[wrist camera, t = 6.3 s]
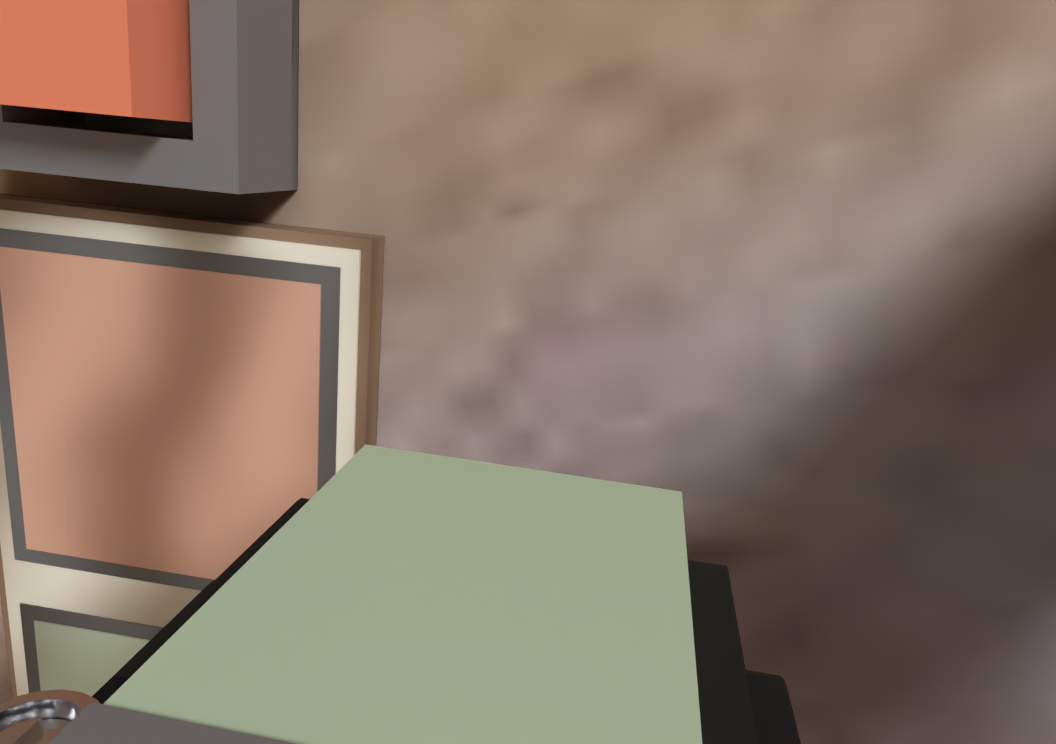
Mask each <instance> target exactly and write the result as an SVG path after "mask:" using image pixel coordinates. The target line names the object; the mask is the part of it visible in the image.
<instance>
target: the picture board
mask: <svg viewBox="0 0 1056 744" xmlns="http://www.w3.org/2000/svg"><path fill="white" fill-rule="evenodd" d="M384 237H385V236H377V235H368V234H359V233H350V232H341V231H332V230H323V229H314V228H305V227H296V226H287V225H278V224H269V223H259V222H250V221H241V220H232V219H223V218H214V217H205V216H196V215H187V214H178V213H169V212H160V211H151V210H142V209H133V208H124V207H115V206H106V205H97V204H88V203H79V202H70V201H61V200H52V199H42V198H33V197H24V196H15V195H6V194H0V596H1V605H2V614H3V622H4V631H5V640H6V649H7V658H8V667H9V675H10V684H11V693H12V698H13V697H16V696H20V695H24V694H28V693H33V692H37V691H46V690H60V689H63V690H70V691H77V692H83V693H85V694H87V695H89V696H91V697H92V696H93V695H94V694H95V693H96V692H97V691H98V690H99V689H100V688H101V687H102V686H103V685H104V684H105V683H106V682H107V681H108V680H109V679H110V678H111V677H113V676H114V675H115V674H116V673H117V672H118V671H119V670H120V669H121V668H122V667H123V666H124V665H125V664H126V663H127V662H128V661H129V660H130V659H131V658H132V657H133V656H134V655H135V654H136V653H138V652H139V651H140V650H141V649H142V648H143V647H144V646H145V645H146V644H147V643H148V642H149V641H150V640H151V639H152V638H153V637H154V636H155V635H156V634H157V633H158V632H159V631H160V630H161V629H162V628H164V627H165V626H166V625H167V624H168V623H169V622H170V621H171V620H172V619H173V618H174V617H175V616H176V615H177V614H178V613H179V612H180V611H181V610H182V609H183V608H184V607H185V606H186V605H187V604H188V603H190V602H191V601H192V600H193V599H194V598H195V597H196V596H197V595H198V594H199V593H200V592H201V591H202V590H203V589H204V588H205V587H206V586H207V585H208V584H210V583H211V582H212V581H214V580H215V579H216V578H217V577H219V576H220V575H221V574H222V573H223V572H224V571H225V570H226V569H227V568H228V567H229V566H230V565H231V564H232V563H233V562H234V561H235V560H236V559H237V558H238V557H239V556H240V555H241V554H242V553H243V552H244V551H245V550H246V549H248V548H249V547H250V546H251V545H252V544H253V543H254V542H255V541H256V540H257V539H258V538H259V537H260V536H261V535H262V534H263V533H264V532H265V531H266V530H267V529H268V528H269V527H270V526H271V525H272V524H273V523H274V522H275V521H277V520H278V519H279V518H280V517H281V516H282V515H283V514H284V513H285V512H286V511H287V510H288V509H289V508H290V507H291V506H292V505H293V504H294V503H295V502H296V501H297V500H299V499H300V498H306V499H311V498H312V497H313V496H314V495H315V494H316V493H317V492H318V491H319V490H320V489H321V488H322V487H323V486H324V485H325V484H326V483H327V482H328V481H329V480H330V479H331V478H332V477H333V476H334V475H335V474H336V473H337V472H338V471H339V470H340V469H341V468H342V467H343V466H344V465H345V464H346V463H347V462H348V461H349V460H350V459H351V458H352V457H353V456H354V455H355V454H356V453H357V452H358V451H359V450H360V449H361V448H362V447H363V446H364V445H365V444H366V445H373V446H376V437H377V412H378V387H379V362H380V337H381V312H382V287H383V262H384Z"/></svg>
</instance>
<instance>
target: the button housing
mask: <svg viewBox="0 0 1056 744" xmlns="http://www.w3.org/2000/svg"><path fill="white" fill-rule="evenodd" d="M189 12H190V48H191V83H192V119H193V122H182V121H171V120H160V119H148V118H137V117H127V116H116V115H106V114H96V113H85V112H75V111H65V110H54V109H44V108H34V107H23V106H13V105H3V104H0V169H6V170H15V171H25V172H34V173H43V174H53V175H62V176H72V177H81V178H90V179H100V180H109V181H118V182H128V183H137V184H146V185H156V186H165V187H175V188H184V189H193V190H203V191H212V192H221V193H231V194H250V193H262V192H275V191H287V190H297V186H298V66H299V0H189Z"/></svg>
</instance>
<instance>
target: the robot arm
mask: <svg viewBox="0 0 1056 744" xmlns="http://www.w3.org/2000/svg"><path fill="white" fill-rule="evenodd" d="M309 500H310V499H306V498H300V499H299V500H297V501H296V502H295V503H294V504H293V505H292V506H291V507H290V508H289V509H288V510H287V511H286V512H285V513H284V514H283V515H282V516H281V517H280V518H279V519H278V520H277V521H275V522H274V523H273V524H272V525H271V526H270V527H269V528H268V529H267V530H266V531H265V532H264V533H263V534H262V535H261V536H260V537H259V538H258V539H257V540H256V541H255V542H254V543H253V544H252V545H251V546H250V547H249V548H248V549H246V550H245V551H244V552H243V553H242V554H241V555H240V556H239V557H238V558H237V559H236V560H235V561H234V562H233V563H232V564H231V565H230V566H229V567H228V568H227V569H226V570H225V571H224V572H223V573H222V574H221V575H220V576H219V577H217V578H216V579H215V580H214V581H212V582H211V583H210V584H208V585H207V586H206V587H205V588H204V589H203V590H202V591H201V592H200V593H199V594H198V595H197V596H196V597H195V598H194V599H193V600H192V601H191V602H190V603H188V604H187V605H186V606H185V607H184V608H183V609H182V610H181V611H180V612H179V613H178V614H177V615H176V616H175V617H174V618H173V619H172V620H171V621H170V622H169V623H168V624H167V625H166V626H165V627H164V628H162V629H161V630H160V631H159V632H158V633H157V634H156V635H155V636H154V637H153V638H152V639H151V640H150V641H149V642H148V643H147V644H146V645H145V646H144V647H143V648H142V649H141V650H140V651H139V652H138V653H136V654H135V655H134V656H133V657H132V658H131V659H130V660H129V661H128V662H127V663H126V664H125V665H124V666H123V667H122V668H121V669H120V670H119V671H118V672H117V673H116V674H115V675H114V676H113V677H111V678H110V679H109V680H108V681H107V682H106V683H105V684H104V685H103V686H102V687H101V688H100V689H99V690H98V691H97V692H96V693H95V694H94V695H93V696H92V697H91V696H89V695H87V694H85V693H83V692H77V691H70V690H63V689H60V690H46V691H37V692H33V693H28V694H24V695H20V696H16V697H13V698H10V699H8V700H5V701H3V702H0V744H48V743H50V742H51V741H52V740H53V739H54V738H55V737H56V736H57V735H58V734H59V733H60V732H61V731H62V730H63V729H64V728H65V727H66V726H67V725H68V724H69V723H70V722H71V721H72V720H73V719H74V718H75V717H76V716H77V715H79V714H80V713H81V712H82V711H83V710H84V709H85V708H86V707H87V706H88V705H89V704H90V703H91V702H94V703H98V704H104V703H105V702H106V701H107V700H108V699H109V698H110V697H111V696H112V695H113V694H114V693H115V692H116V691H117V690H118V689H119V688H120V687H121V686H122V685H123V684H124V683H125V682H126V681H127V680H128V679H129V678H130V677H131V676H132V675H133V674H134V673H135V672H136V671H137V670H138V669H139V668H140V667H141V666H142V665H143V664H144V663H145V662H146V661H147V660H148V659H149V658H150V657H151V656H152V655H153V654H154V653H155V652H156V651H157V650H158V649H159V648H160V647H161V646H162V645H163V644H164V643H165V642H166V641H167V640H168V639H169V638H170V637H171V636H172V635H173V634H174V633H175V632H176V631H177V630H178V629H179V628H181V627H182V626H183V625H184V624H185V623H186V622H187V621H188V620H189V619H190V618H191V617H192V616H193V615H194V614H195V613H196V612H197V611H198V610H199V609H200V608H201V607H202V606H203V605H204V604H205V603H206V602H207V601H208V600H209V599H210V598H211V597H212V596H213V595H214V594H215V593H216V592H217V591H218V590H219V589H220V588H221V587H222V586H223V585H224V584H225V583H226V582H227V581H228V580H229V579H230V578H231V577H232V576H233V575H234V574H235V573H236V572H237V571H238V570H239V569H240V568H241V567H242V566H243V565H244V564H245V563H246V562H247V561H248V560H249V559H250V558H251V557H252V556H253V555H254V554H255V553H256V552H257V551H258V550H259V549H260V548H261V547H262V546H263V545H264V544H265V543H266V542H267V541H268V540H269V539H270V538H271V537H272V536H273V535H274V534H275V533H276V532H277V531H278V530H279V529H281V528H282V527H283V526H284V525H285V524H286V523H287V522H288V521H289V520H290V519H291V518H292V517H293V516H294V515H295V514H296V513H297V512H298V511H299V510H300V509H301V508H302V507H303V506H304V505H305V504H306V503H307V502H308V501H309ZM687 561H688V573H689V585H690V597H691V610H692V622H693V634H694V647H695V659H696V671H697V683H698V696H699V708H700V720H701V732H702V744H801V743H800V739H799V735H798V731H797V727H796V722H795V718H794V714H793V710H792V706H791V702H790V698H789V694H788V690H787V687H786V684H785V681H784V679H783V678H782V677H781V676H776V675H771V674H765V673H759V672H754V671H748V670H745V665H744V659H743V653H742V648H741V642H740V636H739V631H738V625H737V619H736V614H735V608H734V602H733V596H732V591H731V585H730V579H729V574H728V569H727V566H723V565H717V564H711V563H704V562H698V561H692V560H687Z"/></svg>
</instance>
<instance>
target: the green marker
mask: <svg viewBox="0 0 1056 744" xmlns="http://www.w3.org/2000/svg"><path fill="white" fill-rule="evenodd" d="M48 744H702V732H701V720H700V708H699V696H698V683H697V671H696V659H695V647H694V634H693V622H692V610H691V597H690V585H689V573H688V561H687V548H686V536H685V524H684V511H683V499H682V492H681V491H674V490H668V489H661V488H654V487H648V486H641V485H634V484H628V483H621V482H614V481H607V480H601V479H594V478H587V477H581V476H574V475H567V474H560V473H554V472H547V471H540V470H534V469H527V468H520V467H514V466H507V465H500V464H493V463H487V462H480V461H473V460H467V459H460V458H453V457H446V456H440V455H433V454H426V453H420V452H413V451H406V450H400V449H393V448H386V447H379V446H373V445H366V444H365V445H364V446H363V447H362V448H361V449H360V450H359V451H358V452H357V453H356V454H355V455H354V456H353V457H352V458H351V459H350V460H349V461H348V462H347V463H346V464H345V465H344V466H343V467H342V468H341V469H340V470H339V471H338V472H337V473H336V474H335V475H334V476H333V477H332V478H331V479H330V480H329V481H328V482H327V483H326V484H325V485H324V486H323V487H322V488H321V489H320V490H319V491H318V492H317V493H316V494H315V495H314V496H313V497H312V498H311V499H310V500H309V501H308V502H307V503H306V504H305V505H304V506H303V507H302V508H301V509H300V510H299V511H298V512H297V513H296V514H295V515H294V516H293V517H292V518H291V519H290V520H289V521H288V522H287V523H286V524H285V525H284V526H283V527H282V528H281V529H279V530H278V531H277V532H276V533H275V534H274V535H273V536H272V537H271V538H270V539H269V540H268V541H267V542H266V543H265V544H264V545H263V546H262V547H261V548H260V549H259V550H258V551H257V552H256V553H255V554H254V555H253V556H252V557H251V558H250V559H249V560H248V561H247V562H246V563H245V564H244V565H243V566H242V567H241V568H240V569H239V570H238V571H237V572H236V573H235V574H234V575H233V576H232V577H231V578H230V579H229V580H228V581H227V582H226V583H225V584H224V585H223V586H222V587H221V588H220V589H219V590H218V591H217V592H216V593H215V594H214V595H213V596H212V597H211V598H210V599H209V600H208V601H207V602H206V603H205V604H204V605H203V606H202V607H201V608H200V609H199V610H198V611H197V612H196V613H195V614H194V615H193V616H192V617H191V618H190V619H189V620H188V621H187V622H186V623H185V624H184V625H183V626H182V627H181V628H179V629H178V630H177V631H176V632H175V633H174V634H173V635H172V636H171V637H170V638H169V639H168V640H167V641H166V642H165V643H164V644H163V645H162V646H161V647H160V648H159V649H158V650H157V651H156V652H155V653H154V654H153V655H152V656H151V657H150V658H149V659H148V660H147V661H146V662H145V663H144V664H143V665H142V666H141V667H140V668H139V669H138V670H137V671H136V672H135V673H134V674H133V675H132V676H131V677H130V678H129V679H128V680H127V681H126V682H125V683H124V684H123V685H122V686H121V687H120V688H119V689H118V690H117V691H116V692H115V693H114V694H113V695H112V696H111V697H110V698H109V699H108V700H107V701H106V702H105V703H104V704H98V703H94V702H91V703H90V704H89V705H88V706H87V707H86V708H85V709H84V710H83V711H82V712H81V713H80V714H79V715H77V716H76V717H75V718H74V719H73V720H72V721H71V722H70V723H69V724H68V725H67V726H66V727H65V728H64V729H63V730H62V731H61V732H60V733H59V734H58V735H57V736H56V737H55V738H54V739H53V740H52V741H51V742H50V743H48Z"/></svg>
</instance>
